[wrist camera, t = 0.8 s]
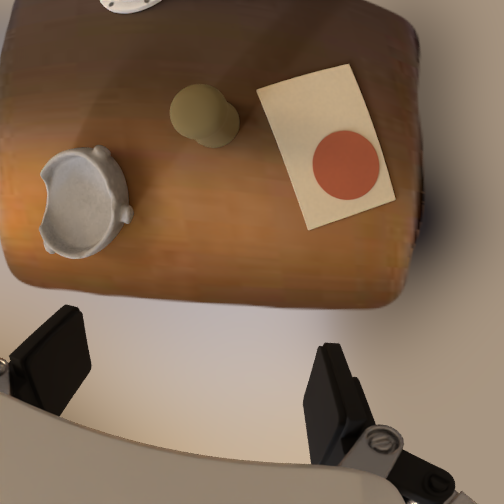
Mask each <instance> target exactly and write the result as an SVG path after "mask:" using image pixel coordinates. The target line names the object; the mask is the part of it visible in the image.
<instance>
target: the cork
mask: <svg viewBox="0 0 504 504" xmlns="http://www.w3.org/2000/svg"><path fill="white" fill-rule="evenodd" d="M170 118H171V122H172V124H173V126H174V128H175V129H176V130H177V131H178V132H179V133H180V134H181V135H183V136H185V137H187V138H189V139H195V140H196V141H197V142H198V143H199V144H201V145H203V146H205V147H211V148H216V147H222V146H224V145H226V144H228V143H229V142H230V141H231V140H233V139H234V138H235V136H236V134H237V132H238V130H239V125H240V120H239V115H238V113H237V111H236V109H235V108H234V107H233V106H232V105H231V104H230V103H228V102H226V100H225V98H224V96H223V94H222V93H221V92H220V91H219V90H217V89H216V88H215V87H212V86H210V85H206V84H195V85H190V86H188V87H186V88H184V89H182V90H181V91H180V92H179V93H178V94H177V95H176V96H175V97H174V99H173V101H172V103H171V107H170Z"/></svg>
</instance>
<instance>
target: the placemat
mask: <svg viewBox="0 0 504 504" xmlns="http://www.w3.org/2000/svg"><path fill="white" fill-rule="evenodd" d="M256 91H257V94H258V96H259V99H260V101H261V103H262V106H263V108H264V111H265V113H266V116H267V118H268V121H269V123H270V126H271V129H272V131H273V134H274V136H275V139H276V142H277V144H278V147H279V149H280V152H281V155H282V157H283V160H284V163H285V165H286V168H287V171H288V174H289V176H290V179H291V182H292V185H293V188H294V190H295V193H296V196H297V199H298V202H299V205H300V208H301V210H302V213H303V216H304V219H305V222H306V225H307V228H308V230H311V229H314V228H317V227H319V226H322V225H325V224H328V223H331V222H334V221H337V220H339V219H342V218H345V217H348V216H351V215H354V214H357V213H359V212H362V211H365V210H368V209H371V208H374V207H377V206H379V205H382V204H385V203H388V202H391V201H394V200H395V196H394V192H393V188H392V184H391V181H390V177H389V174H388V170H387V167H386V163H385V160H384V157H383V154H382V150H381V147H380V144H379V141H378V138H377V135H376V132H375V129H374V126H373V124H372V121H371V118H370V115H369V112H368V110H367V107H366V104H365V102H364V99H363V97H362V94H361V92H360V89H359V87H358V84H357V82H356V79H355V77H354V75H353V72H352V70H351V68H350V65H349V64H346V65H342V66H337V67H333V68H329V69H325V70H321V71H317V72H313V73H310V74H306V75H303V76H299V77H296V78H292V79H289V80H285V81H282V82H279V83H276V84H273V85H269V86H266V87H263V88H260V89H257V90H256Z"/></svg>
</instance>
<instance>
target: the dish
mask: <svg viewBox="0 0 504 504" xmlns="http://www.w3.org/2000/svg"><path fill="white" fill-rule="evenodd" d="M110 155H111V152H110V151H109V150H108V149H107V148H106V147H104V146H102V145H96V146H95V148H84V147H82V148H74V149H69V150H66V151H63V152H60V153H58V154H57V155H55V156H54V157H52V158H51V159H50V160H49V161H48V162H47V164H46V165H45V166H44V167H43V169H42V171H41V173H40V175H41V177H42V179H43V180H44V182H45V184H46V188H47V204H46V210H45V213H44V217H43V220H42V223H41V225H40V227H39V231H40V234H41V236H42V238H43V240H44V247H45V249H46V251H48V252H49V253H50V254H54V253H55V252H56V253H58V254H59V255H61V256H64V257H67V258H72V259H80V258H85V257H89V256H91V255H93V254H95V253H97V252H99V251H100V250H102V249H103V248H105V247H106V246H107V245H108V244H109V243H110V242H111V241H112V240H113V239H114V238H115V237H116V236H117V234H118V233H119V232H120V230H121V228H122V227H123V225H124V223H126V224H129V223H130V222H131V220H132V217H133V215H134V212H133V208H132V207H131V206H130V205H129V196H128V189H127V184H126V180H125V177H124V175H123V172H122V170H121V168H120V166H119V165H118V163H117V162H116V161H115V160H114V158H113V157H111V156H110Z"/></svg>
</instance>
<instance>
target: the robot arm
mask: <svg viewBox="0 0 504 504" xmlns="http://www.w3.org/2000/svg"><path fill="white" fill-rule="evenodd" d="M160 1H162V0H100V2H101V3H102V4H103V6H104V7H106V8H107V9H108V10H110V11H112V12H115V13H133V12H138V11H141V10H144V9H147V8H149V7H151V6H153V5H155V4H157V3H158V2H160ZM9 357H10V360H11V361H10V362H9V363H8V362H7V361H6V360H4V359H3V358H0V504H477V503H476V502H475V501H473V500H472V499H471V498H470V497H468V496H467V495H466V494H465V493H464V492H462V491H461V492H460V493H458V492H456V491H455V481H454V479H453V477H452V476H451V475H450V474H449V473H448V472H447V471H445V470H443V469H441V468H439V467H437V466H435V465H433V464H430V463H429V462H427V461H425V460H423V459H421V458H419V457H417V456H415V455H412V454H411V453H409V452H407V451H405V450H403V445H404V442H403V438H402V436H401V434H400V433H399V432H398V431H397V430H395V429H394V428H392V427H389V426H387V425H376V424H375V421H374V418H373V416H372V413H371V411H370V408H369V405H368V402H367V400H366V397H365V394H364V392H363V389H362V387H361V384H360V381H359V380H358V378H357V377H352V375H351V372H350V370H349V367H348V364H347V362H346V359H345V356H344V354H343V351H342V348H341V346H340V344H338V343H324V345H323V346H319V347H318V349H317V353H316V357H315V360H314V364H313V368H312V371H311V375H310V378H309V381H308V385H307V388H306V392H305V395H304V400H303V407H304V415H305V422H306V429H307V436H308V443H309V451H310V459H311V464H291V463H270V462H258V461H246V460H236V459H227V458H219V457H212V456H205V455H199V454H193V453H187V452H181V451H176V450H171V449H166V448H162V447H157V446H153V445H148V444H144V443H140V442H136V441H132V440H129V439H125V438H121V437H118V436H114V435H111V434H107V433H105V432H101V431H98V430H95V429H92V428H89V427H86V426H83V425H80V424H78V423H75V422H72V421H69V420H67V419H64V418H61V417H59V416H60V415H61V413H62V412H63V410H64V409H65V407H66V406H67V404H68V403H69V401H70V400H71V398H72V397H73V395H74V394H75V392H76V391H77V390H78V388H79V387H80V385H81V384H82V382H83V381H84V379H85V378H86V377H87V375H88V374H89V372H90V370H91V359H90V355H89V350H88V345H87V339H86V333H85V327H84V320H83V314H82V312H81V311H80V310H79V308H78V307H74V306H70V305H64V306H63V307H62V308H60V309H59V310H58V311H57V312H56V313H55V314H54V315H52V316H51V317H50V318H49V319H48V320H47V321H46V322H45V323H44V324H42V325H41V326H40V327H39V328H38V329H37V330H36V331H35V332H34V333H33V334H31V335H30V336H29V337H28V338H27V339H26V340H25V341H24V342H23V343H22V344H21V345H20V346H19V347H18V348H17V349H16V350H15V351H14V352H12V353H11V354H10V355H9Z"/></svg>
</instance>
